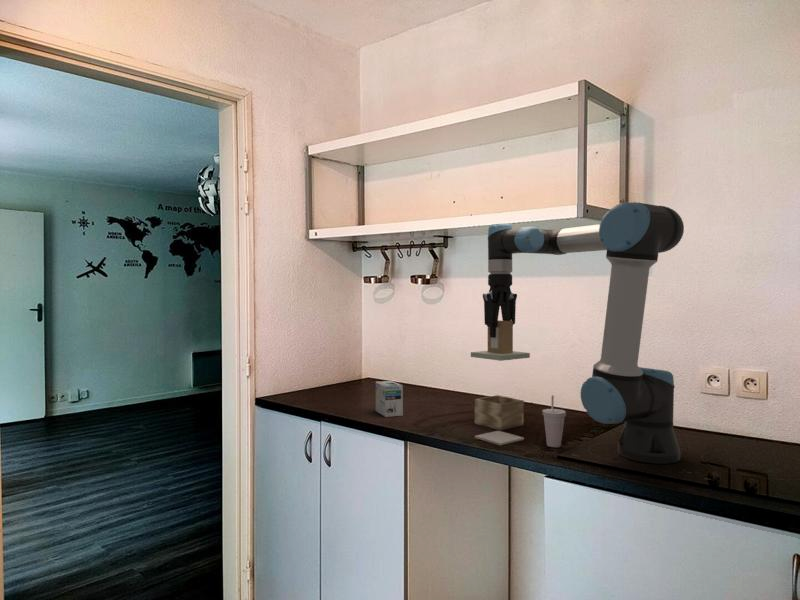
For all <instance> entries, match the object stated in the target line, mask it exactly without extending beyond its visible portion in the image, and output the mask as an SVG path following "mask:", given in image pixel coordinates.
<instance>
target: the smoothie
mask: <svg viewBox="0 0 800 600" xmlns="http://www.w3.org/2000/svg"><path fill="white" fill-rule="evenodd" d="M554 398H555V397H554V395H551V405H550V406H551V408H545V409H542V413H541V414H542V415H543V422H544V430H545V431H544V433H545V438H546V439H545V440H546V446H547V447H551V448H560V447H561V446H562V438H563V432H564V424H565V417H566V416H567V412H566V411H565V410H564V409H558V408H554V405H555V403H554V402H555V401H554Z"/></svg>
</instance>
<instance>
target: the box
mask: <svg viewBox="0 0 800 600" xmlns="http://www.w3.org/2000/svg"><path fill="white" fill-rule="evenodd" d="M524 402H525V401H524V399H520V398H519V399H518V398H515V397H509V396H503V395H499V394H495V395H491V396H490V395H489V396H483V397H479V398H474V425H479V426H483V427H486V428H489V429H494V430H496V431H503V430H508V429H512V428H516V427H521V426H524V417H525V416H524V414H525V413H524V410H525V409H524V407H525V406H524Z"/></svg>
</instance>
